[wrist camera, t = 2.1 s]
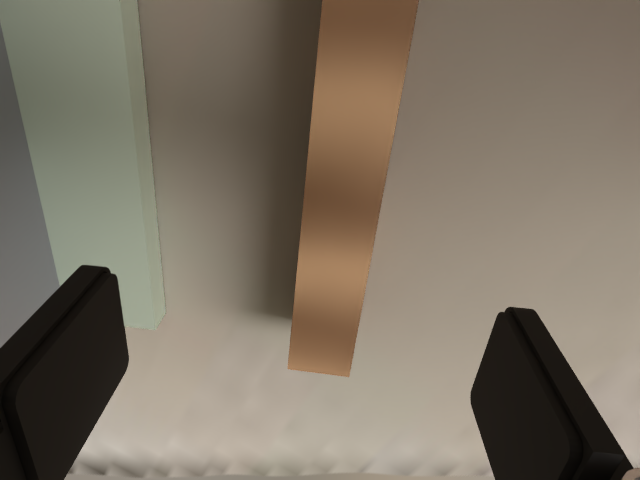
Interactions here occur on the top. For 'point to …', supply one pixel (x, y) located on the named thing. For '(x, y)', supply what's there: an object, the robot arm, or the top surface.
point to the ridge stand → (75, 157)
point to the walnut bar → (346, 173)
